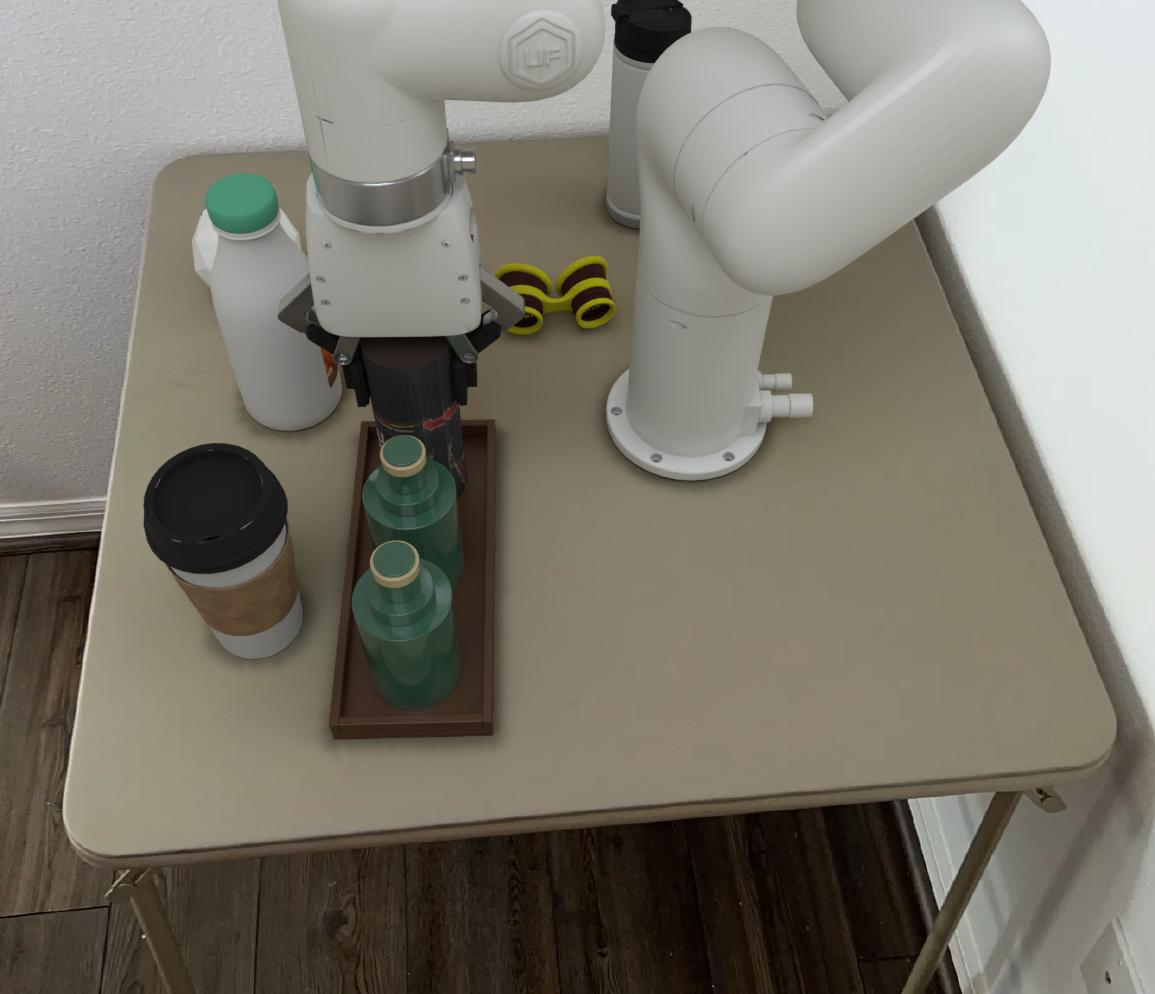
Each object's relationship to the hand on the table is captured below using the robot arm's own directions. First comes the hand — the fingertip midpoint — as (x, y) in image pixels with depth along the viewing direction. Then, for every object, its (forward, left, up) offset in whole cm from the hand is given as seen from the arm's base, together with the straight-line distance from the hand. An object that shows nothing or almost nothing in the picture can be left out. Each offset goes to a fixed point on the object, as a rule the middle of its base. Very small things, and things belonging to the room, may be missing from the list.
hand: (413, 389), depth 77 cm
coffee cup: (+11, +12, -11) cm, 19 cm away
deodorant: (0, 0, -10) cm, 10 cm away
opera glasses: (-10, -18, -11) cm, 23 cm away
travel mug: (-18, -32, -11) cm, 38 cm away
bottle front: (0, +16, -10) cm, 19 cm away
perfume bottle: (+16, -23, -11) cm, 30 cm away
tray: (0, +8, -11) cm, 13 cm away
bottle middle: (0, +8, -10) cm, 13 cm away
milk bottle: (+11, -9, -11) cm, 18 cm away
